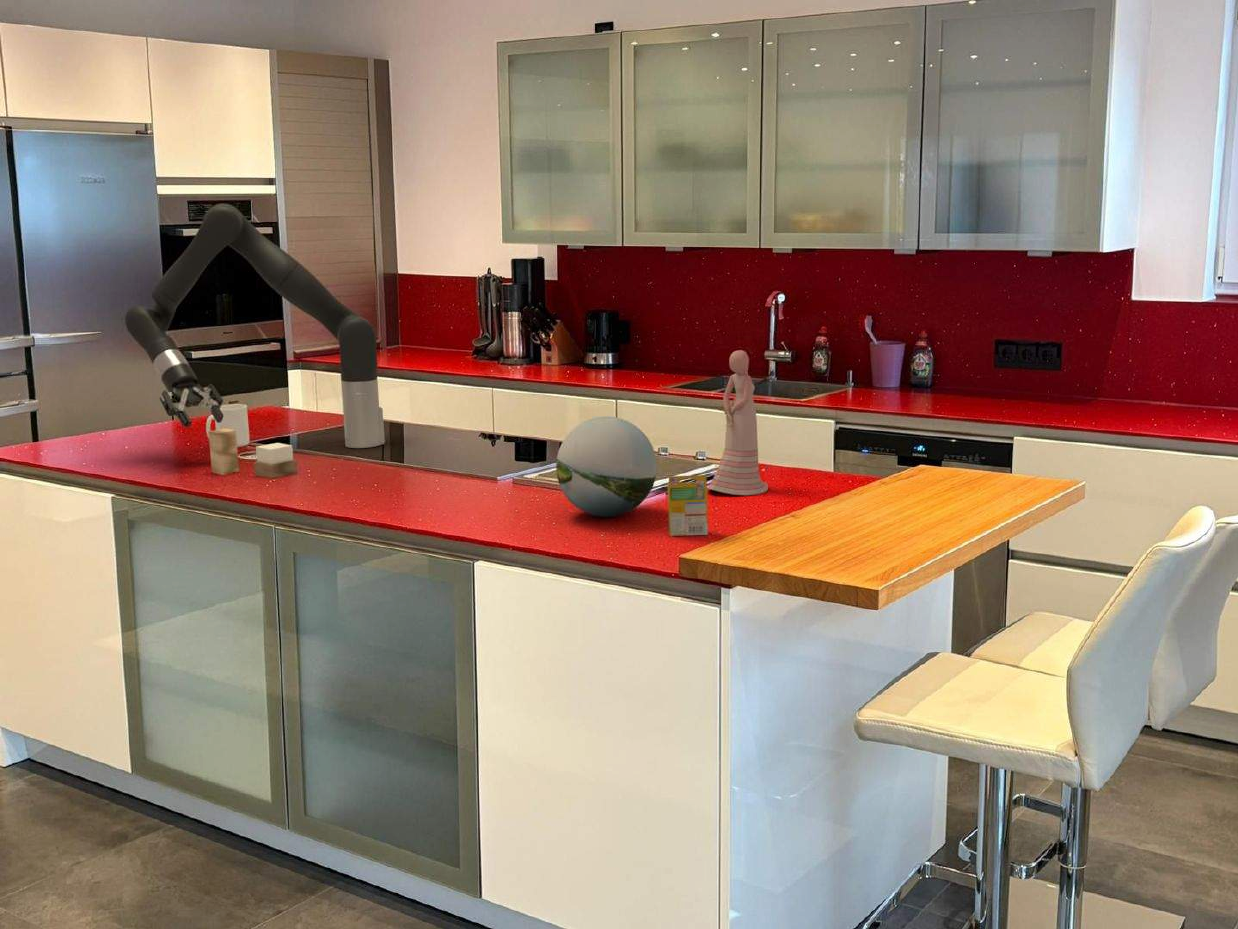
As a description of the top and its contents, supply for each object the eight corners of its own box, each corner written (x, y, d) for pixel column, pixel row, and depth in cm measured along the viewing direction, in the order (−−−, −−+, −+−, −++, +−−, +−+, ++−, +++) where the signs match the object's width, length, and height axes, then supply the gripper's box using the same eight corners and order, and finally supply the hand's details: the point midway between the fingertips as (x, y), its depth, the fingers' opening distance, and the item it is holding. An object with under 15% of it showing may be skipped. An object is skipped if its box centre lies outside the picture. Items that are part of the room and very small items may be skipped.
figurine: (767, 483, 296) (766, 346, 290) (770, 496, 284) (769, 354, 278) (707, 484, 297) (705, 347, 291) (707, 497, 285) (705, 355, 279)
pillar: (228, 469, 326) (225, 428, 324) (239, 471, 323) (235, 430, 321) (212, 472, 323) (208, 431, 321) (222, 474, 320) (219, 433, 318)
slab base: (280, 471, 324) (279, 456, 323) (297, 474, 319) (296, 460, 319) (255, 476, 319) (253, 461, 318) (272, 480, 314) (271, 465, 314)
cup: (256, 443, 358) (253, 405, 356) (217, 451, 349) (214, 412, 347) (237, 440, 363) (234, 403, 361) (198, 448, 354) (195, 409, 352)
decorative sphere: (650, 501, 282) (648, 406, 278) (664, 525, 263) (662, 423, 259) (554, 506, 280) (550, 411, 276) (562, 530, 260) (558, 428, 256)
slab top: (278, 457, 323) (277, 442, 322) (293, 460, 319) (292, 445, 318) (256, 461, 318) (255, 446, 318) (271, 464, 314) (270, 449, 314)
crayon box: (706, 531, 257) (705, 471, 255) (708, 535, 254) (707, 475, 252) (668, 532, 257) (667, 473, 255) (669, 536, 254) (668, 476, 252)
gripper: (153, 365, 323) (183, 417, 318) (206, 359, 333) (236, 409, 328) (143, 386, 327) (173, 437, 322) (196, 378, 338) (225, 428, 333)
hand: (205, 423), depth 325 cm, fingers open, 8 cm apart
